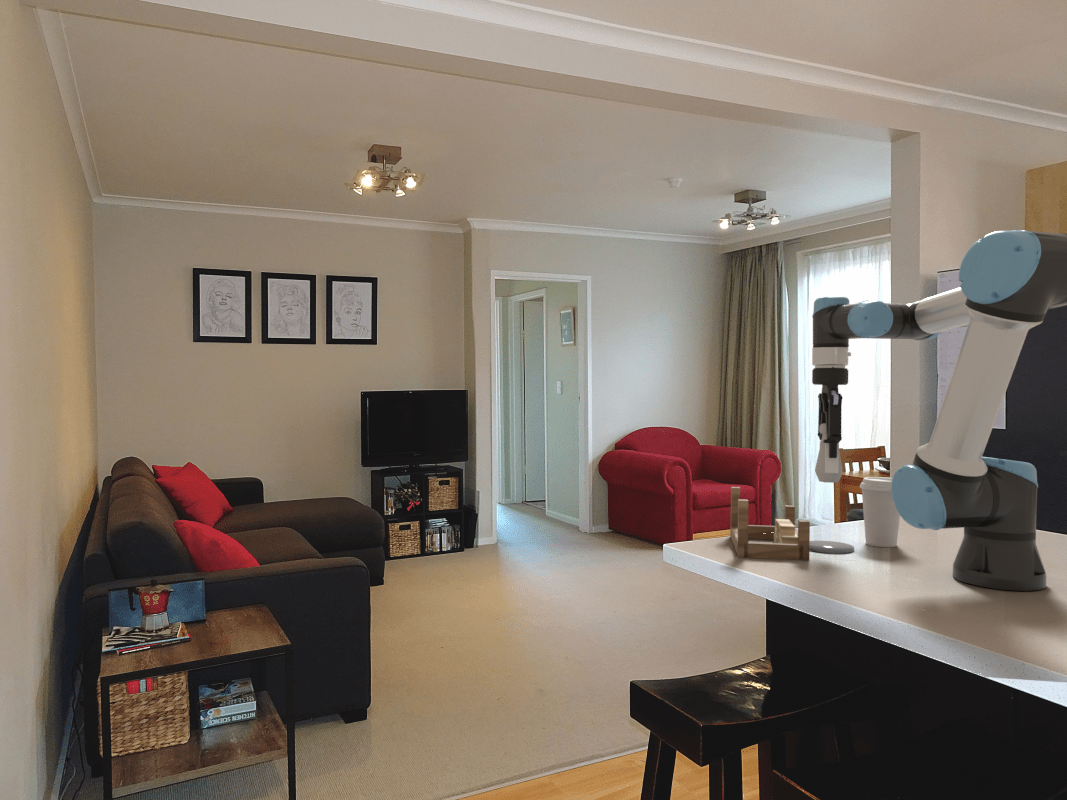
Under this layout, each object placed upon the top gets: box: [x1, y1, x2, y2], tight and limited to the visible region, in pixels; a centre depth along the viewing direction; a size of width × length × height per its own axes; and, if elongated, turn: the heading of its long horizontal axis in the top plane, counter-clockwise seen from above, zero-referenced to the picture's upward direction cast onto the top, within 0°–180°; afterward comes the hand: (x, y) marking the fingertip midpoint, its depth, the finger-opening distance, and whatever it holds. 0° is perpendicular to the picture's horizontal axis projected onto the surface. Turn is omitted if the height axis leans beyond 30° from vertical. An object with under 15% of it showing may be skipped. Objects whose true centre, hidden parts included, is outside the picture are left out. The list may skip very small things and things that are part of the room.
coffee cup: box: [859, 476, 901, 548], centre depth 180 cm, size 10×10×15 cm
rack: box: [729, 486, 811, 561], centre depth 175 cm, size 22×14×12 cm, turn 170°
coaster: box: [809, 540, 855, 554], centre depth 175 cm, size 11×11×1 cm
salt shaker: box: [814, 423, 844, 484], centre depth 175 cm, size 6×6×13 cm
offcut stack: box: [773, 518, 798, 544], centre depth 175 cm, size 14×3×6 cm, turn 170°
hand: (828, 470), depth 175 cm, fingers closed on salt shaker, 6 cm apart
